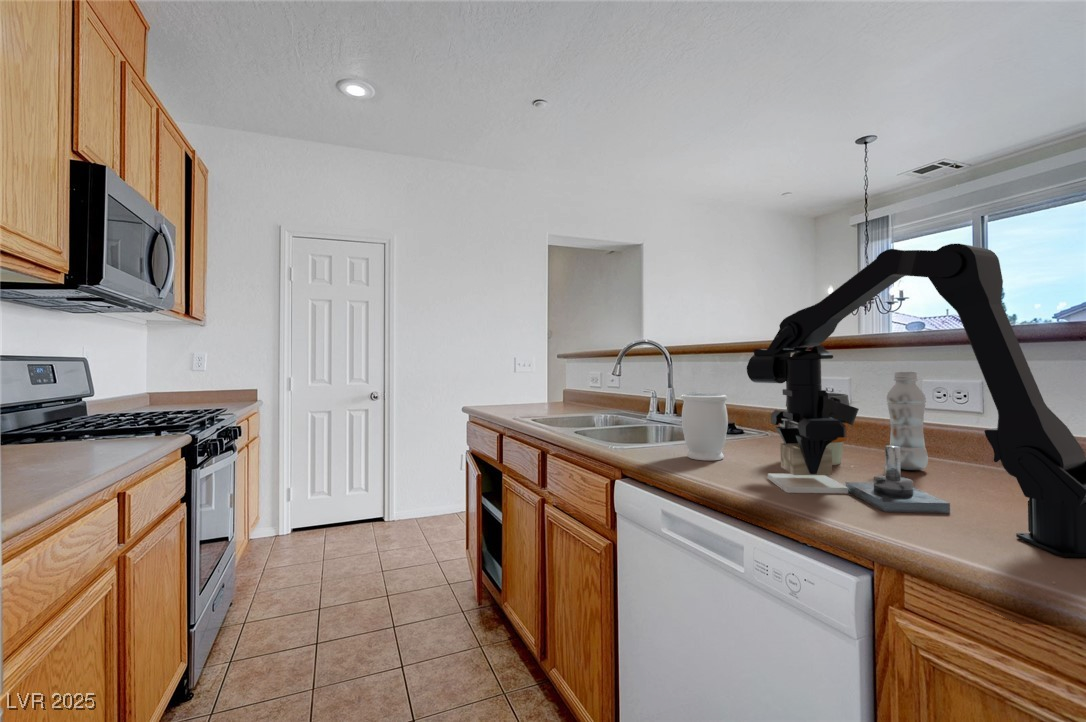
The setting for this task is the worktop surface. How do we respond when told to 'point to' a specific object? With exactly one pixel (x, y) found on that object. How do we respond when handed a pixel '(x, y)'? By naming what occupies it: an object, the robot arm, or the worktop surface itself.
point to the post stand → (896, 490)
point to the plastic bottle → (907, 420)
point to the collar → (796, 463)
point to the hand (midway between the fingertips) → (805, 469)
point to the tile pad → (807, 483)
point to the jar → (704, 425)
